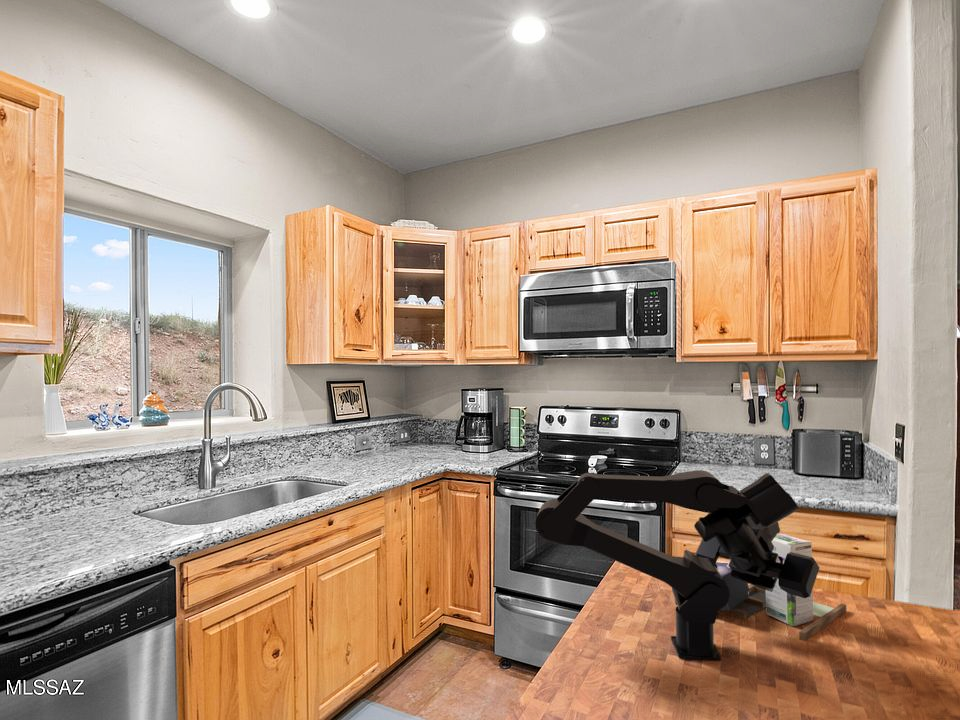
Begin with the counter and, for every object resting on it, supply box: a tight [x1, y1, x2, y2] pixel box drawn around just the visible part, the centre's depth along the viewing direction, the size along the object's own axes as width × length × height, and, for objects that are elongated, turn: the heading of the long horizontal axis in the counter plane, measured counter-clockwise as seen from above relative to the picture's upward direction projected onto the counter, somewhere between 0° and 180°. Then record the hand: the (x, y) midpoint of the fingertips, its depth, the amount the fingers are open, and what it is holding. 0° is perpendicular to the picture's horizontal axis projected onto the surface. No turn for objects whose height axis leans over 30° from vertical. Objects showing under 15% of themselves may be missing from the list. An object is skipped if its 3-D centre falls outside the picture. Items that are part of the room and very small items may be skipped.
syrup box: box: [765, 533, 814, 627], centre depth 100 cm, size 6×6×14 cm
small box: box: [674, 562, 750, 611], centre depth 106 cm, size 11×6×10 cm
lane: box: [719, 584, 847, 642], centre depth 103 cm, size 18×16×1 cm
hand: (770, 588), depth 96 cm, fingers closed
